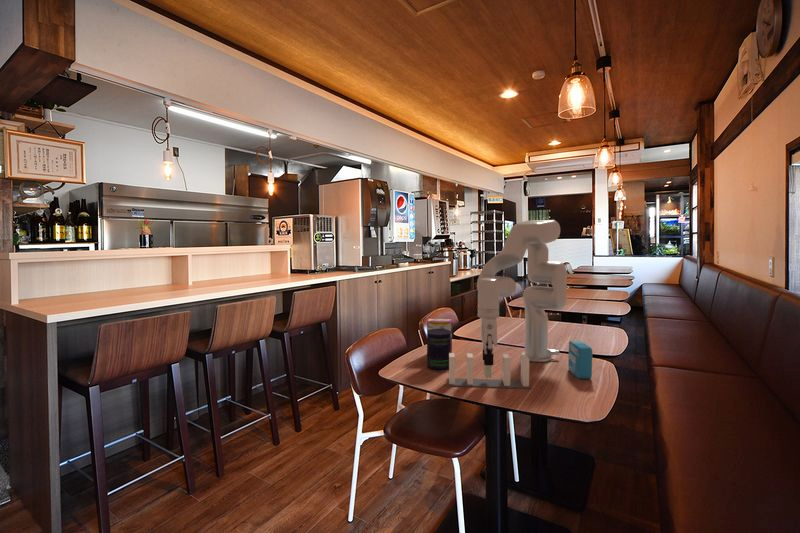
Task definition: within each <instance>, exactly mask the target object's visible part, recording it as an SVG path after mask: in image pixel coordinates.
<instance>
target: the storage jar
mask: <svg viewBox="0 0 800 533" xmlns="http://www.w3.org/2000/svg"><path fill="white" fill-rule="evenodd" d="M450 334H451V331H449V330H446V329H431V330H428V331H427V330H426V346H427V345H428V354H427V353H426V363H427V366H426V368H427V369H428V370H430V371H433V372H446V371H449V353H450V345H451V335H450Z"/></svg>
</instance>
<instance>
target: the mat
mask: <svg viewBox="0 0 800 533" xmlns="http://www.w3.org/2000/svg"><path fill="white" fill-rule="evenodd" d="M446 386H447V387H457V386H458V387H459V388H460V387H462V388H463V387H465V388H495V389H521V390H522V389H523V390H524V389H527V390H528V389H529V390H532V389H533V387H532V385H531V383H530V382H529V386H523V385H522V383H521V379H520V380H519V379H510V386H504V383H503V381H502V379H496V378H495V379H493V378H486V379H485V378H473V385H467V378H457V377H455V384H449V377H447V378H446Z"/></svg>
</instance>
